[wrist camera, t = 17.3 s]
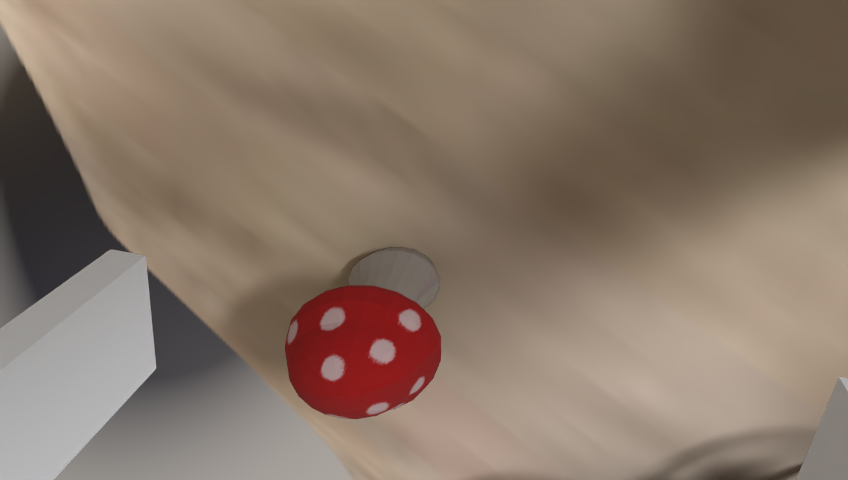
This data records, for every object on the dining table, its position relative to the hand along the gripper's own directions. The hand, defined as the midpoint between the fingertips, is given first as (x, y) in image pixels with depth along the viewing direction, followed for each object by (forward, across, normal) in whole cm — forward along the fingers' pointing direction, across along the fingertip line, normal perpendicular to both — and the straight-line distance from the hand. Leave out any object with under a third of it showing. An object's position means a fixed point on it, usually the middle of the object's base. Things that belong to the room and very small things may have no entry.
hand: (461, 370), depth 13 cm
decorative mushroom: (+34, -8, -17) cm, 39 cm away
